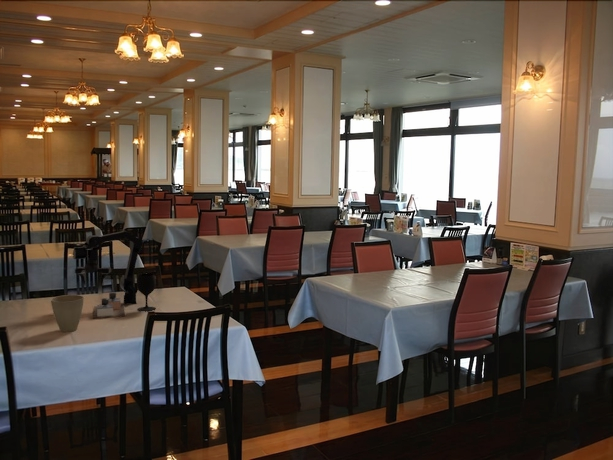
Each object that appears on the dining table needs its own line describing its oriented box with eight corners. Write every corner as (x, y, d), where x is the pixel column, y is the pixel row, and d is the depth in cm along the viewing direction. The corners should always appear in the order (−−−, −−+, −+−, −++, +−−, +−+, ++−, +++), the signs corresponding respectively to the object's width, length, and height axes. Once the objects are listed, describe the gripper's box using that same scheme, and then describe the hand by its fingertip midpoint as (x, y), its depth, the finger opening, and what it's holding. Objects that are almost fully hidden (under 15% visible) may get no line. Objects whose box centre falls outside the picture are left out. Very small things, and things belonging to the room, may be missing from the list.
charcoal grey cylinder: (116, 305, 319) (115, 292, 318) (116, 307, 316) (115, 293, 315) (109, 306, 318) (109, 292, 317) (109, 307, 315) (109, 294, 314)
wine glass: (133, 310, 314) (132, 275, 312) (146, 306, 324) (145, 272, 322) (146, 312, 310) (146, 277, 308) (160, 308, 319) (159, 274, 317)
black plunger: (108, 312, 305) (108, 298, 304) (108, 313, 301) (108, 299, 301) (101, 312, 304) (101, 298, 303) (101, 314, 300) (101, 299, 299)
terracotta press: (120, 305, 322) (120, 298, 322) (120, 308, 315) (120, 301, 314) (105, 306, 319) (105, 299, 319) (105, 309, 312) (105, 302, 312)
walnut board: (123, 305, 325) (123, 304, 325) (125, 316, 300) (125, 315, 300) (94, 307, 319) (94, 306, 319) (93, 318, 295) (93, 317, 295)
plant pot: (51, 327, 277) (50, 296, 276) (84, 324, 283) (83, 293, 282) (51, 335, 264) (50, 302, 262) (85, 332, 270) (84, 300, 268)
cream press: (113, 311, 308) (112, 304, 307) (113, 315, 300) (113, 307, 300) (97, 312, 305) (97, 305, 305) (97, 316, 298) (97, 308, 297)
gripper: (71, 260, 308) (71, 288, 309) (105, 260, 309) (106, 288, 311) (78, 257, 319) (78, 284, 321) (111, 257, 320) (111, 284, 322)
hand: (93, 285), depth 318 cm, fingers open, 9 cm apart
